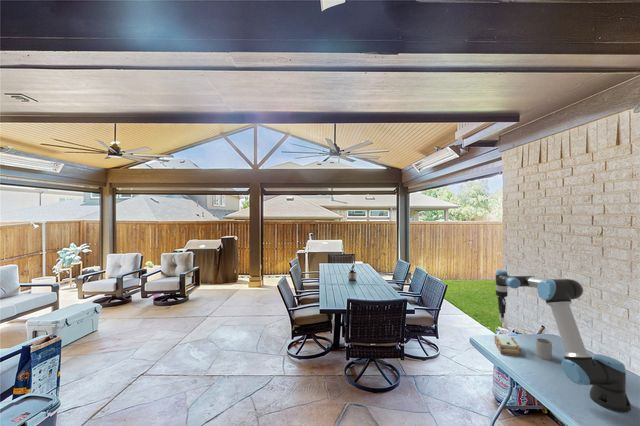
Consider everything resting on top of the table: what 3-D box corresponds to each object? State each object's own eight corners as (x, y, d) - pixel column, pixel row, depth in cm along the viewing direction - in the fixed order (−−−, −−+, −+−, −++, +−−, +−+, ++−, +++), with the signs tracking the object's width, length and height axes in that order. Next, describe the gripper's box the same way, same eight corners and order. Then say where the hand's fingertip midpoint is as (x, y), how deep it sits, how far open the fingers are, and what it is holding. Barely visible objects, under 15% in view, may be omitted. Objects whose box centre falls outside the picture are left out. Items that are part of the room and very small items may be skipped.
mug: (554, 360, 186) (554, 344, 186) (539, 358, 189) (539, 342, 189) (546, 352, 198) (546, 336, 198) (532, 350, 201) (532, 335, 200)
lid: (516, 349, 196) (516, 344, 196) (501, 347, 199) (501, 343, 199) (511, 341, 207) (511, 337, 207) (497, 339, 210) (497, 335, 210)
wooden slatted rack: (520, 356, 193) (520, 348, 193) (500, 354, 197) (500, 345, 197) (513, 345, 208) (513, 337, 208) (494, 343, 212) (494, 335, 212)
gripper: (510, 293, 205) (510, 325, 206) (504, 288, 218) (505, 318, 218) (498, 292, 208) (498, 323, 208) (493, 287, 220) (494, 317, 221)
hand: (502, 321), depth 213 cm, fingers closed
